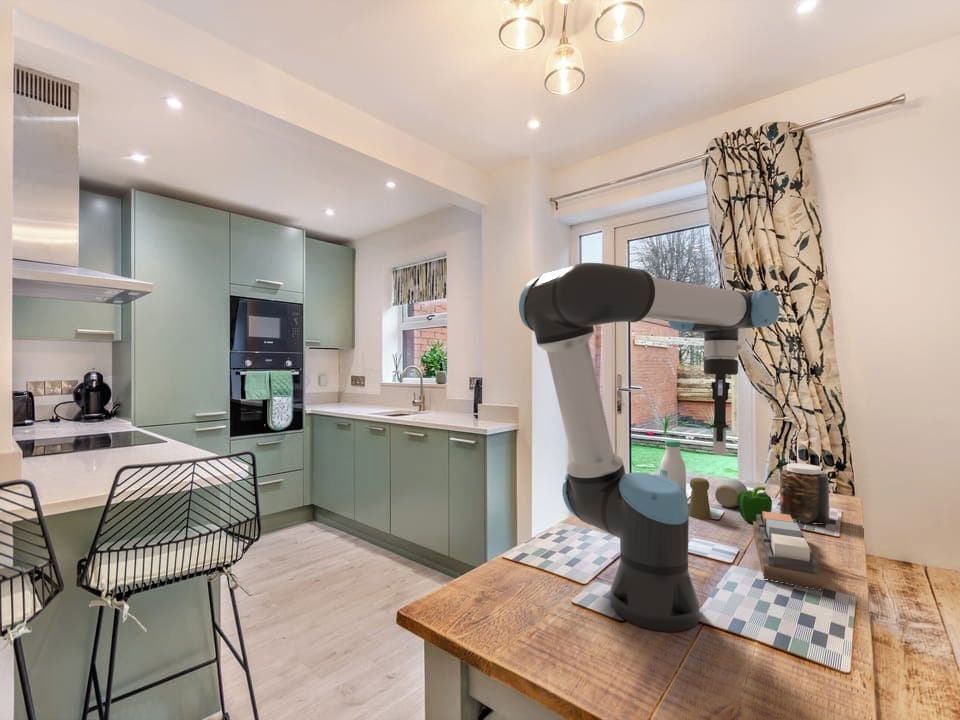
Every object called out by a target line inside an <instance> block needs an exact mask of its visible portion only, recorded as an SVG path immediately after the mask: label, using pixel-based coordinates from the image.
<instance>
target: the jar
mask: <svg viewBox="0 0 960 720" xmlns="http://www.w3.org/2000/svg"><path fill="white" fill-rule="evenodd" d="M829 484H830V483H829V477H828V475H827V474H824V473H822V467H821V466H818V465H816V464H815V465H814V464H809V463H808V464H807V463H798V462H796V463H795V462H793V463H792V462H791V463H787V464H786V469H783V470H782V471H780V475H779V513H780V514H788V515H790V516H791V518H792V519H795V520H796V521H800V522H804V523H803V524H805V523H826V522H828V521H829V522H830V487H829ZM800 522H799V523H800ZM829 522H828V523H829ZM826 524H827V523H826Z"/></svg>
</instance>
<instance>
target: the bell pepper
mask: <svg viewBox="0 0 960 720" xmlns="http://www.w3.org/2000/svg"><path fill="white" fill-rule="evenodd" d="M765 490H766V487H765V486H757V487H754V488H753V491H752V490H750V489H749V490H748V491H746V492H745V491H740V492H739V494H738V506H737V507H738V509H739V513H740V516H741V517H742V519H744V520H745V521H746V522H747V523H750V524H751V523H752V524H753V521H757V514H759V515H762V511H764V512H772V509H773V507H772V506H773V500H772V498H771V496H770V495H768V493H766V492H764V491H765ZM759 491H763V492H759Z"/></svg>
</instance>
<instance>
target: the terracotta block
mask: <svg viewBox="0 0 960 720" xmlns="http://www.w3.org/2000/svg"><path fill="white" fill-rule="evenodd" d="M766 519H771V520H778V521H786V522H793V520H792V518H791V516H790V515H788V514H780V512H779V513H778V512H772V511H771V512H764V511H762V522H763V524H766Z"/></svg>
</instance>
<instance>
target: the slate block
mask: <svg viewBox="0 0 960 720" xmlns="http://www.w3.org/2000/svg"><path fill="white" fill-rule="evenodd" d="M797 524H798V522H797V523H794V522H786V521H778V520H771V519H766V531H767V535H768V538H770V539H771V533H772V534H779V535H786V536H792V537H799V538H801V533H802V530H801V528H800V526H799V524H798V525H797ZM798 526H799V527H798ZM799 528H800V529H799Z"/></svg>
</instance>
